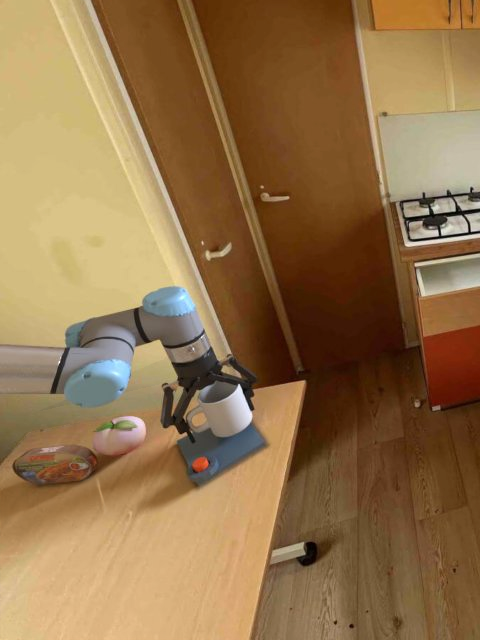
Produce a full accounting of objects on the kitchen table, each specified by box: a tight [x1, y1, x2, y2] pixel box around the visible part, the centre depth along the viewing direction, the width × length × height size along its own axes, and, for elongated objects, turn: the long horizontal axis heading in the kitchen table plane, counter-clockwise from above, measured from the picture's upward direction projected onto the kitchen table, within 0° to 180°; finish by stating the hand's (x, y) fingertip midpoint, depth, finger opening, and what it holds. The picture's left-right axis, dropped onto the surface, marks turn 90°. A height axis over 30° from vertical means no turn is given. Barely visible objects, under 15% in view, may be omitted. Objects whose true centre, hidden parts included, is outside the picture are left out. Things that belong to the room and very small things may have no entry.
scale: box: [176, 421, 267, 487], centre depth 100 cm, size 15×17×3 cm
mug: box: [185, 381, 253, 437], centre depth 99 cm, size 12×8×11 cm
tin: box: [11, 444, 99, 485], centre depth 92 cm, size 15×3×8 cm, turn 95°
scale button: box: [192, 457, 209, 473], centre depth 93 cm, size 3×3×2 cm
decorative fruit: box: [92, 415, 147, 456], centre depth 98 cm, size 9×8×10 cm
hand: (223, 423), depth 101 cm, fingers closed on mug, 12 cm apart
